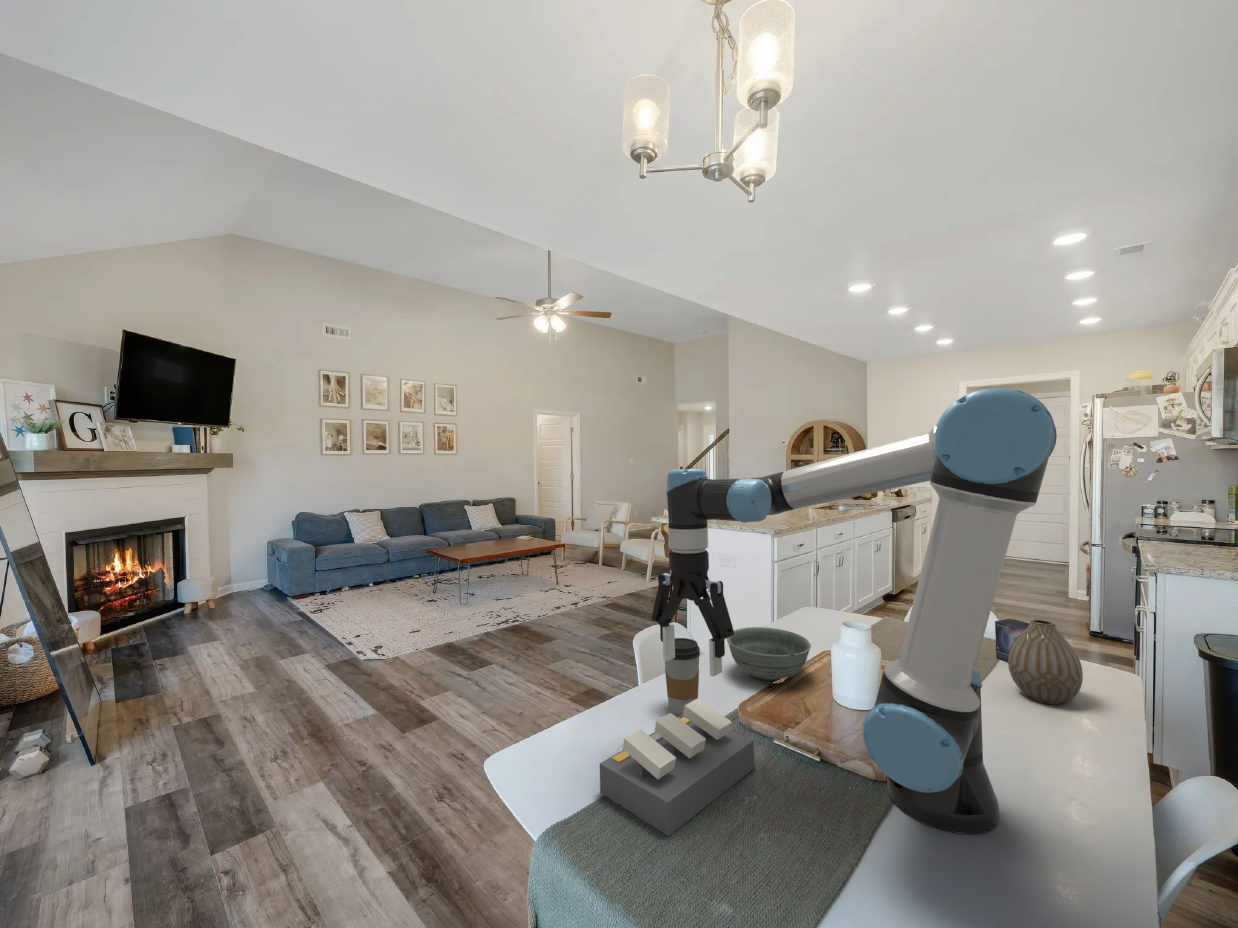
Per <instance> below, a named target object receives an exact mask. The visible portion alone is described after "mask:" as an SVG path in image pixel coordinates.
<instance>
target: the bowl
mask: <svg viewBox="0 0 1238 928" xmlns="http://www.w3.org/2000/svg"><path fill="white" fill-rule="evenodd" d="M733 630H734V635H733V636H731V637H728V638H726V642H727V644H728V646H729V650H730V654H731V656H732V658H733V661H734V662H735V663H736V665H738V667H739V668H740V669H741V670H742V671H743V672H745V673H746V674H748V676H749V677H750V678H751V679H752V680H754V681H757V682H760V683H763V684H767V685H768V684H770V685H773V684H772V683H773V682H775V681H777V680H780V679H782V678H785V677H789V678H791V677H794V676H795V675H797V673H799V672H800V671H801V670H802V668H803V667H804V666H805V664H806V662H807V659H808V656H809V652H810V650H811V648H812V645H811V642H809V640H808V639H807V638H806V637H804V636H803V635H800V634H798V633H795V632H793V631H790V630H785V629H780V628H775V627H762V626H758V627H757V626H753V627H750V626H749V627H743V628H738V629H733Z"/></svg>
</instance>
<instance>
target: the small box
mask: <svg viewBox="0 0 1238 928" xmlns="http://www.w3.org/2000/svg"><path fill="white" fill-rule="evenodd" d="M1029 624H1030V622H1025V621H1020V620H1017V619H1014V618H1006V619H1000V620H996V621H994V627H995V628H994V630H995V631H994V633H995V634H994V635H995V655H996V656H995V658H996V660H997V659H999V660H1000V661H1004V662H1006V663H1008V656H1009V651H1010V648H1011V646H1012V644H1013V642H1014V641H1015V640H1016V638H1017V637H1018V636H1019V635H1020V634H1021V633H1022V632H1023V631H1024V630H1026V629H1027V627H1028V626H1029Z"/></svg>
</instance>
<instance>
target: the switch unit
mask: <svg viewBox="0 0 1238 928" xmlns="http://www.w3.org/2000/svg"><path fill="white" fill-rule="evenodd" d="M678 719H680V720H681V721H682V722H684V723H685V724H687V725H688V726H689V727H691V728H692V729H693V730H695V731H696V732H697V733H699V734H700V735H702V736H703V737H704V738H706V741H705V746H704V749H703V750H702V751H700V752H699V753H697V754H696V755H694V756H693V757H691V758H688V757H687V756H686V755H684V754H683V753H682V752H681V751H679V750H678V749H677V748H676V747H674V746H673V745H672V744H670V743H669V742H668V741H667V740H665V739H664V738H663V737H662V736H660V735H659V734H658V733H657V732H655V731H654V732H653V733H650V734H648V735H649V736H650V737H651V738H652V739H654V740H655V741H656V742H657V743H659V744H660V745H661V746H662V747H664V748H665V749H666V750H667V751H669V752H670V753H671V754H672V755H674V756H675V757H676V762H675V768H674V769H673V770H672V771H670V772H669V773H667V774H666V775H664V776H663V777H661V778H660V779H657V778H656V777H654V776H653V775H652V774H651V773H650V772H649V771H648V770H646V769H645V768H644V767H643V766H642V765H641V764H639V763H638V762H637V761H636V760H635V759H634V758H633V757H631V756H630V755H629V754H628V753H627V752H626V751H625V750H623V749H622V750H620V751H619V752H617V753H615V754H614V755H611V756H610V757H608V758H607V759H605V760H603V761H601V762H599V789H600V790H599V794H601V795H603V796H604V797H606V798H607V799H609V800H610V799H611V801H612V802H614V801H615V802H614V803H615V804H617V805H618V804H620V805H621V806H623V807H625V808H626V809H628V810H629V811H631V812H632V813H633V815H634V814H635V815H634V816H636V817H637V818H639V819H640V818H641V820H642V821H644V822H645V823H647V824H648V825H650V826H651V827H653V828H655V829H656V830H658V831H659V832H661V833H662V834H664V835H666V836H667V837H669V836H671V835H672V834H673V833H675V832H676V831H678V829H680V828H682V826H683V825H685V824H687V822H689V821H690V820H691V819H692V818H694V817H695V816H696V815H697V814H698V813H700V812H701V811H702V810H703V809H705V808H706V807H708V806H709V805H710V804H711V803H713V802H714V801H715V800H716V799H718V798H719V797H720V796H721V795H722V794H724V793H725V792H727V791H728V790H729V789H730V788H731V787H732V786H734V785H735V784H736V783H737V782H739V781H740V780H741V779H742V778H744V777H745V776H746V775H748V774H750V772H751V771H752V770H754V769H755V746H754V745H755V744H754V743H755V741H754V739H752V738H749V737H746V736H744V735H742V734H740V733H737V732H734V731H732V730H730V732H729V733H727V734H726V735H724V736H723V737H721V738H720V739H718V740H717V739H715V738H714V737H712V736H711V735H710V734H708V733H707V732H705V731H704V730H703V729H701V728H700V727H699V726H697V725H696V724H694V723H693V722H692V721H690V720H689V719H687V718H686V717H685V716H680V717H678ZM620 805H619V806H620ZM621 806H620V807H621ZM623 807H622V808H623ZM625 808H624V809H625ZM626 809H625V810H626ZM628 810H627V811H628ZM629 811H628V812H629ZM631 812H630V813H631ZM632 813H631V814H632Z"/></svg>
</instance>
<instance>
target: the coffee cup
mask: <svg viewBox="0 0 1238 928" xmlns="http://www.w3.org/2000/svg"><path fill="white" fill-rule="evenodd" d="M698 645H699V644H698V642H697V641H696V640H695V639H692V638H685V637H675V658H673V659H671V660H669V661H664V672H665V673H664V675H665V683H666V694H667V700H668V701H667V702H668V709H669V711H670V713H672V714H673V715H674V716H679V717H683V711H684V706H685V705H686V704H688V703H690V702H692V701H694V700H696V699H699V687H700V685H699V684H700V683H699V682H700V655H701V651H700V649H701V648H700V647H699V646H698Z"/></svg>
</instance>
